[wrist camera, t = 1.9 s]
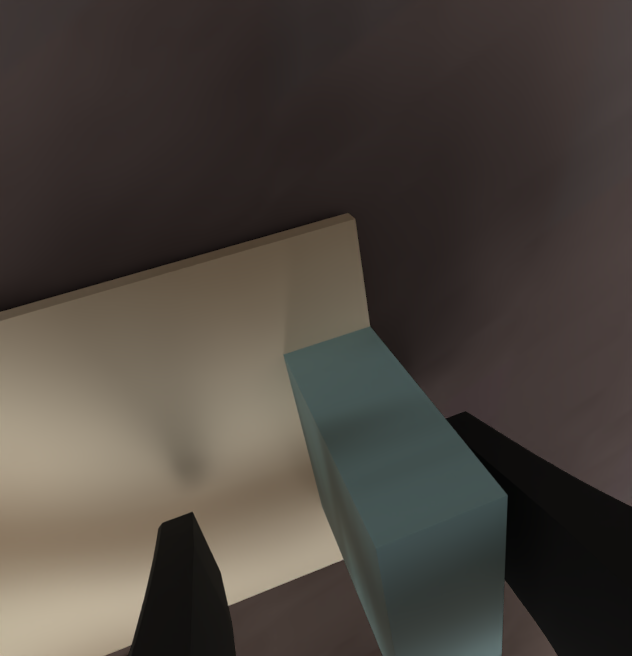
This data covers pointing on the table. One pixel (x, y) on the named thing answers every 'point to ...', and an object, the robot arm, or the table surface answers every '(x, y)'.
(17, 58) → the table surface
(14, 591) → the wooden board
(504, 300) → the table surface
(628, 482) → the table surface
